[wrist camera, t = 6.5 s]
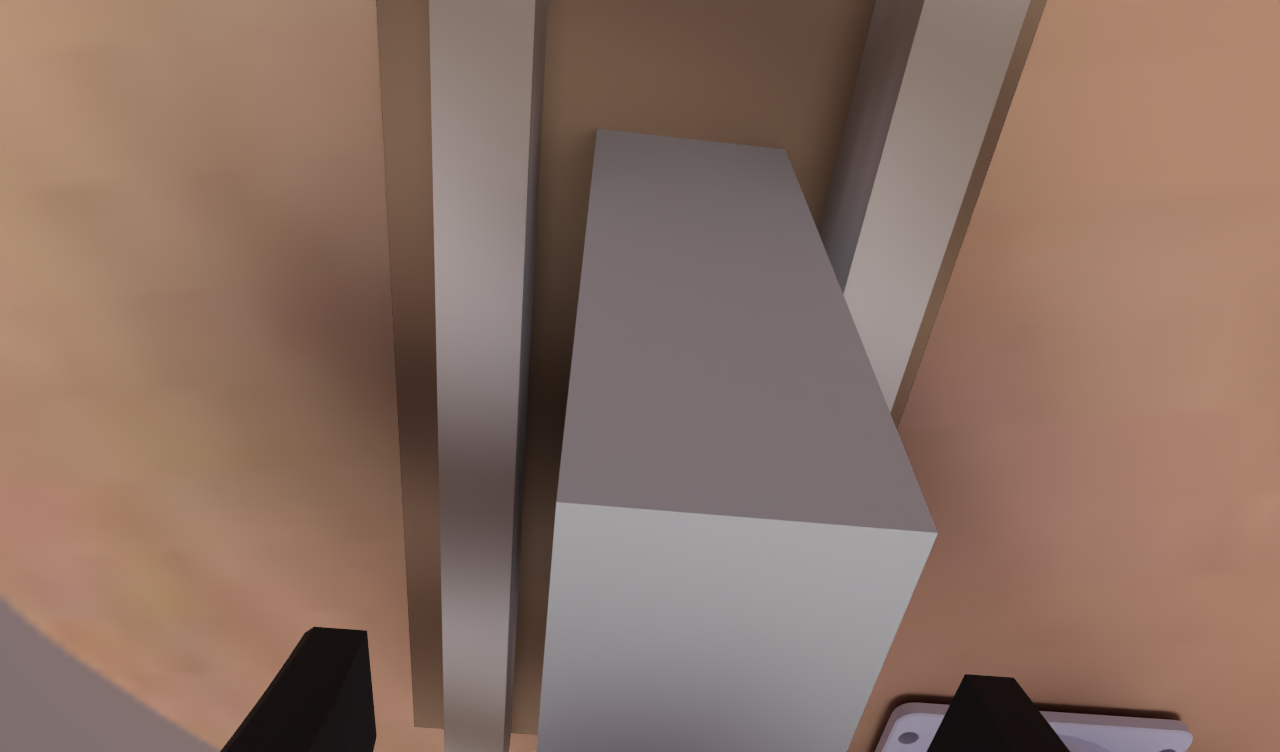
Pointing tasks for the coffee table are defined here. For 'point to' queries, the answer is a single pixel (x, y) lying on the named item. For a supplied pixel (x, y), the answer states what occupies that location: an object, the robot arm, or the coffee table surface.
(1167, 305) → the coffee table surface
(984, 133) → the track base
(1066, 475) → the coffee table surface
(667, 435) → the door panel
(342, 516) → the coffee table surface
